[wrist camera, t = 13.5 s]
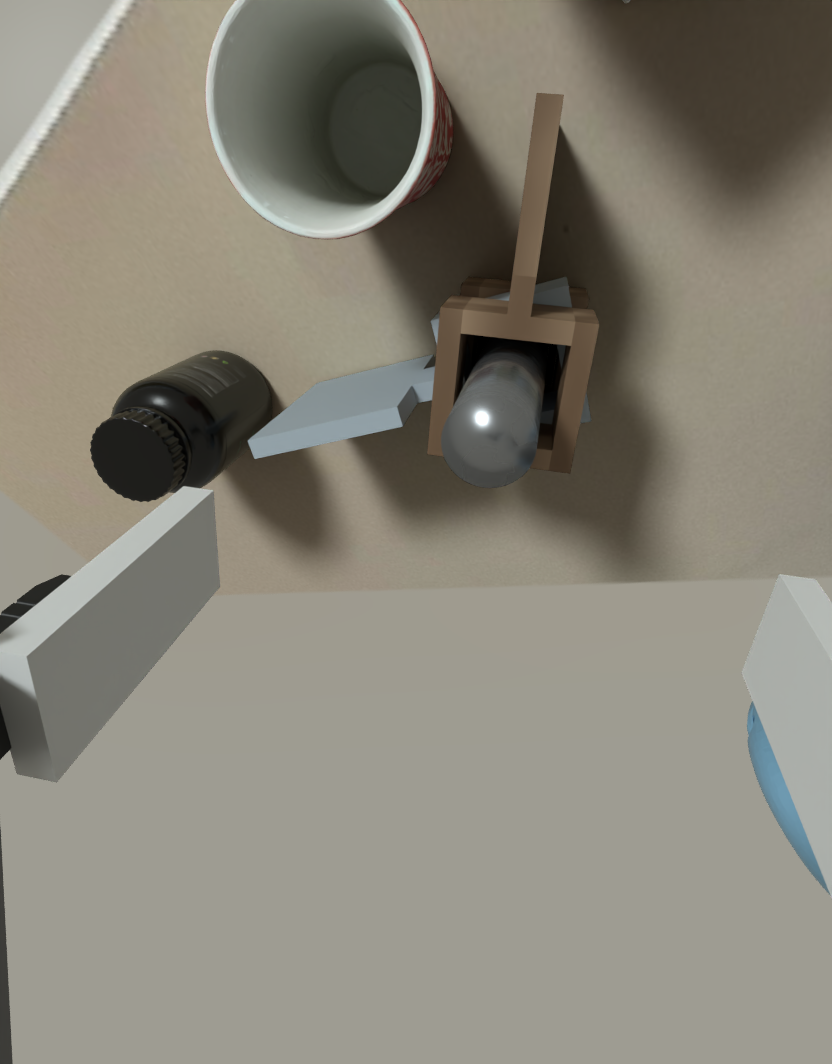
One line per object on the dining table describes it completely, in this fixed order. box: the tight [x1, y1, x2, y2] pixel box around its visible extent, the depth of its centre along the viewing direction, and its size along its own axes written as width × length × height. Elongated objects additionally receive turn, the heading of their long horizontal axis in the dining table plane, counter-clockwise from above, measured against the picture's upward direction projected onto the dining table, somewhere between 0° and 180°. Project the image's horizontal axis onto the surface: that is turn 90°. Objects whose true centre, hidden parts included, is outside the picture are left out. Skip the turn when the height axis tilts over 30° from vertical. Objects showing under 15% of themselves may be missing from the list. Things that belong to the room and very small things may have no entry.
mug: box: [205, 0, 453, 239], centre depth 30 cm, size 13×9×14 cm
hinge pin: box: [441, 337, 550, 488], centre depth 33 cm, size 4×4×18 cm
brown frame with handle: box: [427, 93, 599, 474], centre depth 34 cm, size 7×15×12 cm, turn 176°
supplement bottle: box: [90, 351, 272, 502], centre depth 41 cm, size 7×7×12 cm
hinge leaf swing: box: [248, 277, 591, 459], centre depth 37 cm, size 17×7×12 cm, turn 106°
